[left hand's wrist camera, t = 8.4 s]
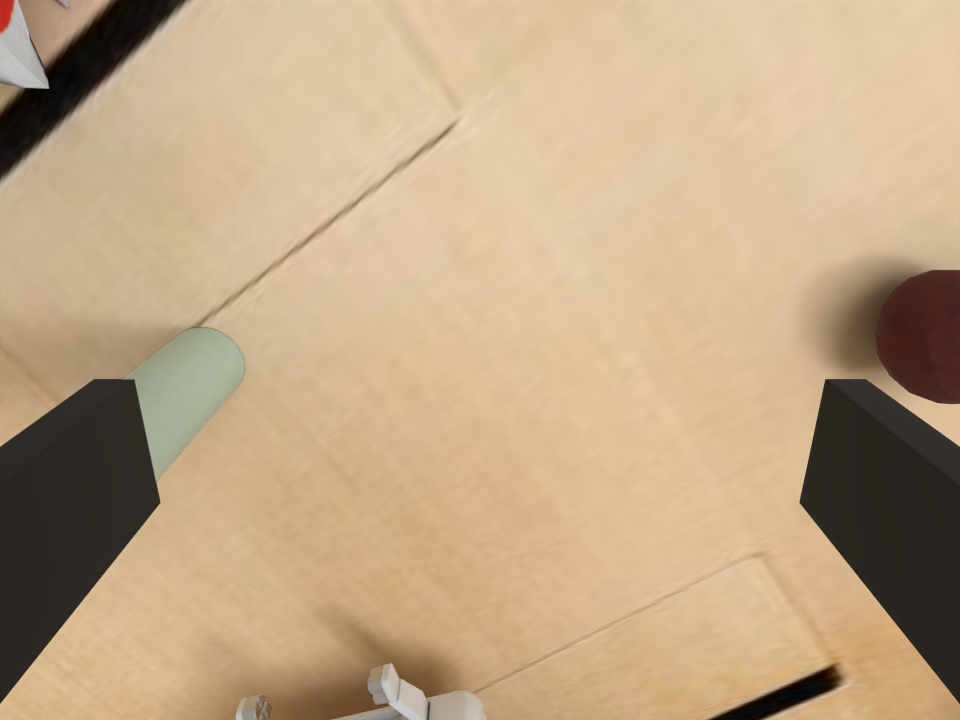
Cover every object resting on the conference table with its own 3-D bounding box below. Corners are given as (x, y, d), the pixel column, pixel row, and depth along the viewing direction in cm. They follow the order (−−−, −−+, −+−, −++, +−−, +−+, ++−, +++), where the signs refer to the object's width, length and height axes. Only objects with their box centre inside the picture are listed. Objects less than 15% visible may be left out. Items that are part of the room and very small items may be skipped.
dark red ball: (878, 393, 43) (950, 445, 36) (831, 297, 40) (899, 335, 34) (989, 334, 41) (1085, 377, 35) (948, 231, 39) (1042, 257, 32)
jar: (193, 312, 41) (-21, 468, 24) (259, 357, 42) (102, 539, 25) (155, 367, 42) (-74, 554, 25) (220, 410, 44) (45, 618, 26)
